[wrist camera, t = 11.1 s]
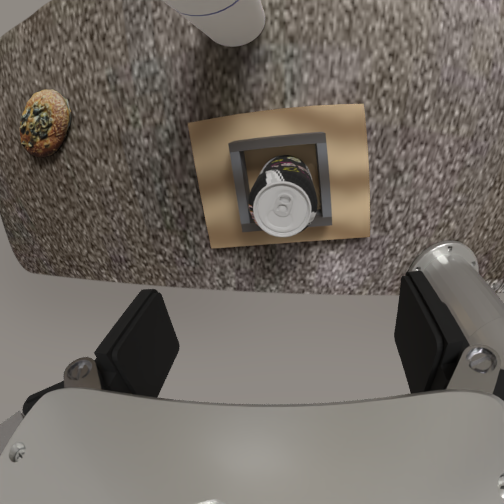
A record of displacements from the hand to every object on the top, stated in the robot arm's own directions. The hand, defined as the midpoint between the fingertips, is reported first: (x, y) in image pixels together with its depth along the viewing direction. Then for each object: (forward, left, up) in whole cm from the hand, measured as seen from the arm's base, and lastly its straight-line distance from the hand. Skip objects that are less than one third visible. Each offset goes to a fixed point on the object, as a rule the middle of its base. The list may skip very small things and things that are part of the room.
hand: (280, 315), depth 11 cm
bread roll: (+15, +34, -27) cm, 46 cm away
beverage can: (0, +1, -26) cm, 26 cm away
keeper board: (0, +1, -27) cm, 27 cm away
